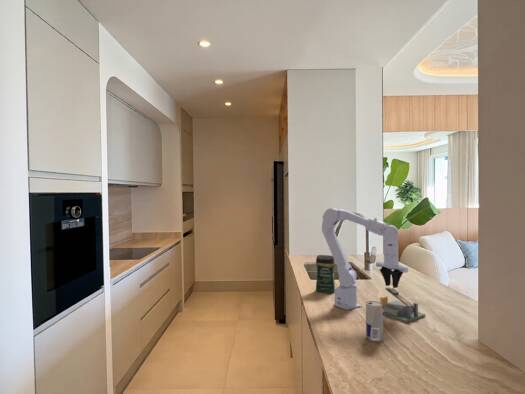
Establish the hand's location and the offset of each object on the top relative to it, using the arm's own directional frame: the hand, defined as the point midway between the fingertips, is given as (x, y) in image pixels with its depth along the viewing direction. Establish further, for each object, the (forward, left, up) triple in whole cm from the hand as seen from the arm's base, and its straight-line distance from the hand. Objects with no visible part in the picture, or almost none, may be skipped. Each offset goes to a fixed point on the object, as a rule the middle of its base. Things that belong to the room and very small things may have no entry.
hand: (391, 286), depth 133 cm
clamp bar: (0, -4, -4) cm, 6 cm away
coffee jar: (-4, +37, -11) cm, 39 cm away
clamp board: (0, -3, -10) cm, 11 cm away
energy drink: (-27, -14, -11) cm, 32 cm away
